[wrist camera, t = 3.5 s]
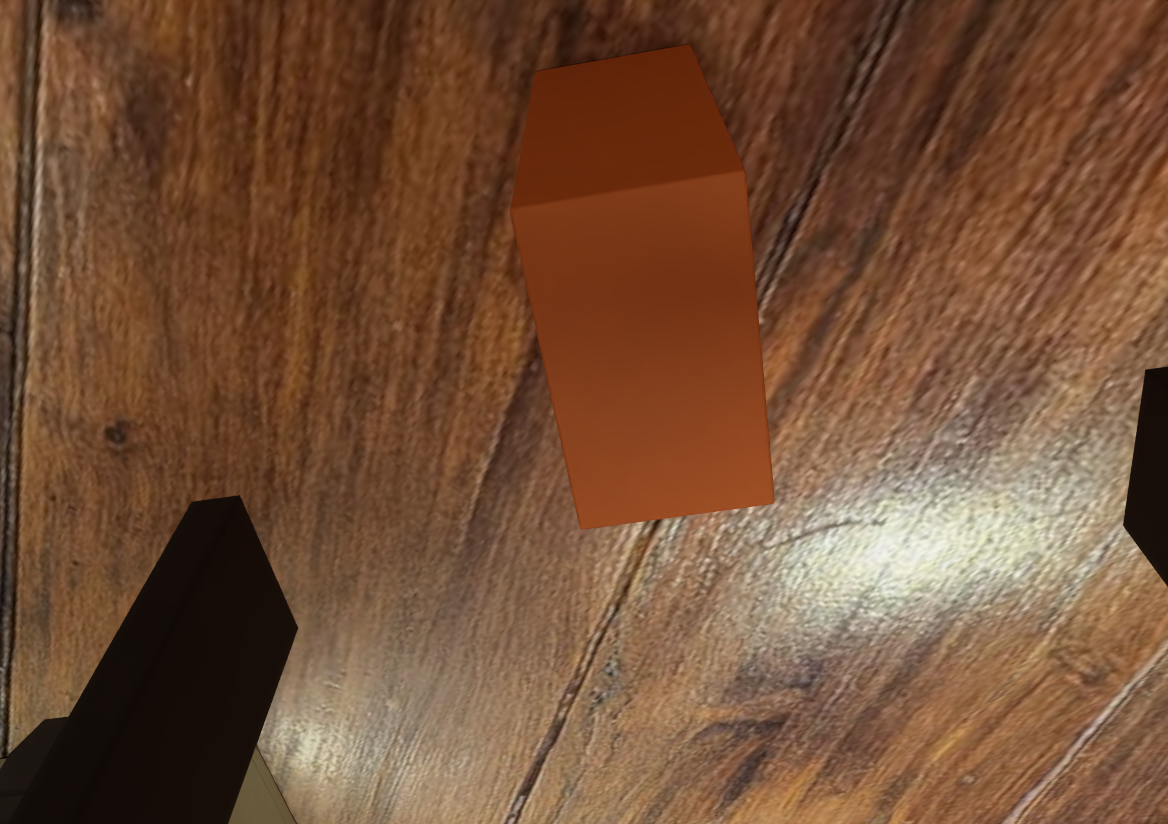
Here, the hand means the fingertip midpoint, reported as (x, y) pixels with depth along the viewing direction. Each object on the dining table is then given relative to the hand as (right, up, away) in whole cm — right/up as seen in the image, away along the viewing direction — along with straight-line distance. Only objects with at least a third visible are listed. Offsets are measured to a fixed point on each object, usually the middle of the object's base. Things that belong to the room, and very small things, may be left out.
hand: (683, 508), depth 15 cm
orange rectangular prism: (0, +7, +12) cm, 14 cm away
